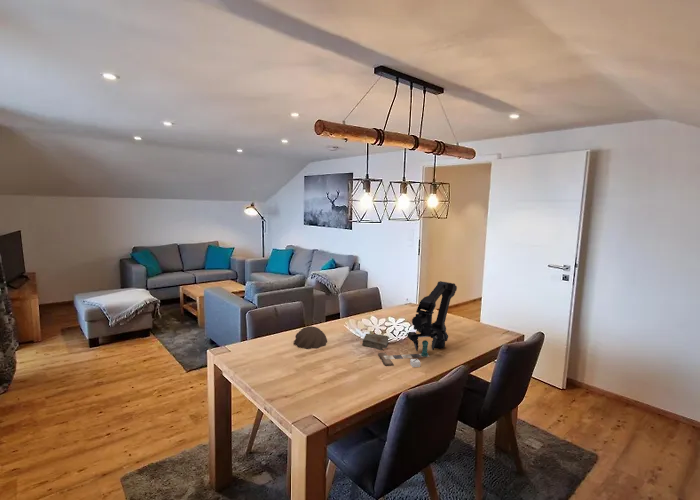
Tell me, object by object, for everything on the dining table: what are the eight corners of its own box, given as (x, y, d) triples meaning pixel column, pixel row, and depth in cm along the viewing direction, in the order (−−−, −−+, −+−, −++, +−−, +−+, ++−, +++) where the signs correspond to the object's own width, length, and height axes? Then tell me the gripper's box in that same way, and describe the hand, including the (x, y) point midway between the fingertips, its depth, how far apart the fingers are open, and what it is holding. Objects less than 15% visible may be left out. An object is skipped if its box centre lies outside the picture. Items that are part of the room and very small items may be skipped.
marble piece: (386, 351, 211) (386, 344, 210) (360, 348, 214) (360, 341, 214) (390, 340, 227) (390, 334, 226) (366, 338, 230) (366, 331, 230)
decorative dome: (300, 351, 208) (300, 334, 206) (289, 339, 225) (289, 323, 224) (332, 346, 216) (332, 329, 215) (319, 335, 234) (319, 319, 233)
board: (426, 352, 211) (426, 349, 210) (436, 362, 197) (436, 360, 197) (378, 354, 205) (378, 352, 205) (385, 366, 192) (385, 363, 192)
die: (417, 366, 193) (417, 358, 192) (420, 369, 189) (420, 361, 188) (409, 366, 192) (410, 358, 192) (412, 370, 188) (412, 362, 188)
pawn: (426, 353, 205) (427, 339, 204) (429, 356, 201) (429, 341, 200) (420, 354, 204) (420, 339, 203) (422, 356, 201) (423, 341, 200)
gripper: (436, 317, 210) (435, 344, 212) (404, 318, 206) (403, 345, 209) (445, 324, 199) (443, 352, 201) (411, 325, 196) (410, 353, 198)
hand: (424, 350), depth 202 cm, fingers open, 9 cm apart
